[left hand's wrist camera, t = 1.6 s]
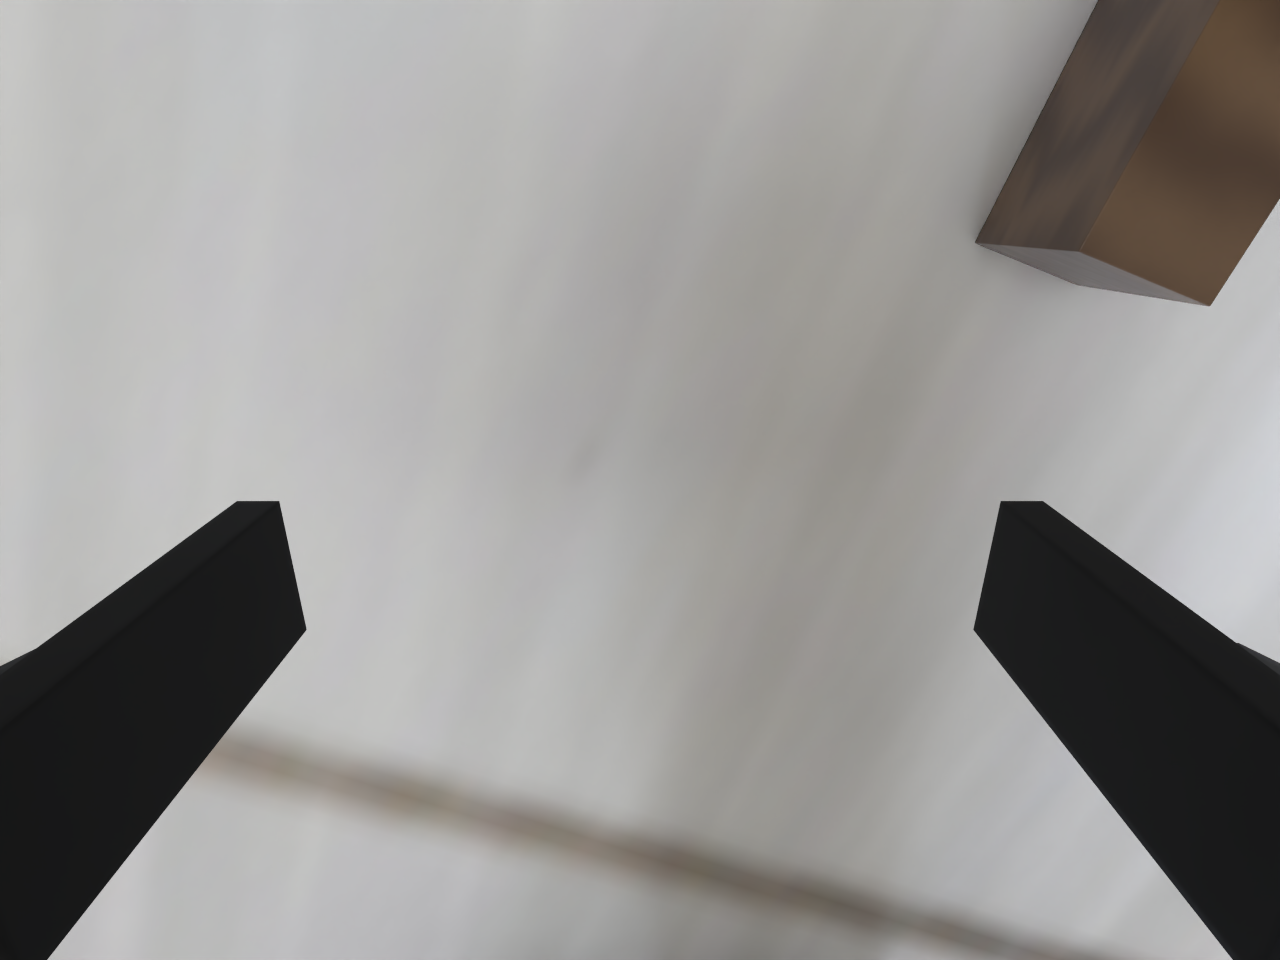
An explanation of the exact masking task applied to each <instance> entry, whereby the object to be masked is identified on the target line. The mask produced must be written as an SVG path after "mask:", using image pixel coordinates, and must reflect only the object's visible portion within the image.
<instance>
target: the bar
mask: <svg viewBox="0 0 1280 960" xmlns="http://www.w3.org/2000/svg"><path fill="white" fill-rule="evenodd" d="M1279 199H1280V0H1099V1H1098V3H1097V5H1096V7H1095V9H1094V11H1093V13H1092V15H1091V17H1090V19H1089V20H1088V22H1087V24H1086V26H1085V28H1084V30H1083V32H1082V34H1081V36H1080V38H1079V40H1078V42H1077V44H1076V46H1075V48H1074V50H1073V52H1072V54H1071V56H1070V58H1069V60H1068V62H1067V64H1066V66H1065V68H1064V70H1063V71H1062V73H1061V75H1060V77H1059V79H1058V81H1057V83H1056V85H1055V87H1054V89H1053V91H1052V93H1051V95H1050V97H1049V99H1048V101H1047V103H1046V105H1045V107H1044V109H1043V111H1042V113H1041V115H1040V117H1039V119H1038V121H1037V122H1036V124H1035V126H1034V128H1033V130H1032V132H1031V134H1030V136H1029V138H1028V140H1027V142H1026V144H1025V146H1024V148H1023V150H1022V152H1021V154H1020V156H1019V158H1018V160H1017V162H1016V164H1015V166H1014V168H1013V170H1012V171H1011V173H1010V175H1009V177H1008V179H1007V181H1006V183H1005V185H1004V187H1003V189H1002V191H1001V193H1000V195H999V197H998V199H997V201H996V203H995V205H994V207H993V209H992V211H991V213H990V215H989V217H988V219H987V221H986V222H985V224H984V226H983V228H982V230H981V232H980V234H979V236H978V238H977V240H976V242H975V243H976V244H979V245H981V246H984V247H986V248H989V249H991V250H993V251H996V252H998V253H1001V254H1003V255H1006V256H1008V257H1010V258H1013V259H1015V260H1018V261H1020V262H1023V263H1025V264H1028V265H1030V266H1032V267H1035V268H1037V269H1040V270H1042V271H1045V272H1047V273H1049V274H1052V275H1054V276H1057V277H1059V278H1062V279H1064V280H1067V281H1069V282H1071V283H1074V284H1076V285H1080V286H1086V287H1092V288H1098V289H1104V290H1111V291H1117V292H1123V293H1129V294H1135V295H1142V296H1148V297H1154V298H1160V299H1167V300H1173V301H1179V302H1185V303H1191V304H1198V305H1204V306H1210V305H1211V304H1212V303H1213V301H1214V299H1215V298H1216V296H1217V295H1218V293H1219V292H1220V290H1221V289H1222V287H1223V286H1224V284H1225V282H1226V281H1227V279H1228V278H1229V276H1230V275H1231V273H1232V272H1233V270H1234V269H1235V267H1236V265H1237V264H1238V262H1239V261H1240V259H1241V258H1242V256H1243V255H1244V253H1245V252H1246V250H1247V248H1248V247H1249V245H1250V244H1251V242H1252V241H1253V239H1254V238H1255V236H1256V235H1257V233H1258V231H1259V230H1260V228H1261V227H1262V225H1263V224H1264V222H1265V221H1266V219H1267V218H1268V216H1269V214H1270V213H1271V211H1272V210H1273V208H1274V207H1275V205H1276V204H1277V202H1278V201H1279Z"/></svg>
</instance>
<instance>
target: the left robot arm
mask: <svg viewBox="0 0 1280 960" xmlns="http://www.w3.org/2000/svg"><path fill="white" fill-rule="evenodd" d="M305 631H306V625H305V620H304V616H303V611H302V606H301V602H300V597H299V592H298V587H297V583H296V578H295V573H294V569H293V564H292V559H291V555H290V550H289V545H288V540H287V536H286V531H285V526H284V522H283V517H282V512H281V508H280V503H279V501H237V502H235V503H234V504H233V505H231V506H230V507H229V508H227V509H226V510H224V511H223V512H222V513H220V514H219V515H218V516H216V517H215V518H214V519H212V520H211V521H209V522H208V523H207V524H205V525H204V526H203V527H201V528H200V529H199V530H197V531H196V532H194V533H193V534H192V535H190V536H189V537H188V538H186V539H185V540H184V541H182V542H181V543H179V544H178V545H177V546H175V547H174V548H173V549H171V550H170V551H169V552H167V553H166V554H164V555H163V556H162V557H160V558H159V559H158V560H156V561H155V562H154V563H152V564H151V565H149V566H148V567H147V568H145V569H144V570H143V571H141V572H140V573H139V574H137V575H136V576H134V577H133V578H132V579H130V580H129V581H128V582H126V583H125V584H124V585H122V586H121V587H119V588H118V589H117V590H115V591H114V592H113V593H111V594H110V595H109V596H107V597H106V598H105V599H103V600H102V601H100V602H99V603H98V604H96V605H95V606H94V607H92V608H91V609H90V610H88V611H87V612H85V613H84V614H83V615H81V616H80V617H79V618H77V619H76V620H75V621H73V622H72V623H70V624H69V625H68V626H66V627H65V628H64V629H62V630H61V631H60V632H58V633H57V634H55V635H54V636H53V637H51V638H50V639H49V640H47V641H46V642H45V643H43V644H42V645H40V646H39V647H38V648H36V649H34V650H32V651H30V652H28V653H26V654H24V655H22V656H20V657H18V658H16V659H14V660H12V661H10V662H8V663H6V664H4V665H2V666H0V960H47V959H48V958H49V957H50V955H51V954H52V953H53V952H54V950H55V949H56V948H57V946H58V945H59V944H60V943H61V941H62V940H63V939H64V938H65V936H66V935H67V934H68V932H69V931H70V930H71V929H72V927H73V926H74V925H75V924H76V922H77V921H78V920H79V918H80V917H81V916H82V915H83V913H84V912H85V911H86V910H87V908H88V907H89V906H90V904H91V903H92V902H93V901H94V899H95V898H96V897H97V896H98V894H99V893H100V892H101V890H102V889H103V888H104V887H105V885H106V884H107V883H108V882H109V880H110V879H111V878H112V876H113V875H114V874H115V873H116V871H117V870H118V869H119V868H120V866H121V865H122V864H123V863H124V861H125V860H126V859H127V857H128V856H129V855H130V854H131V852H132V851H133V850H134V849H135V847H136V846H137V845H138V843H139V842H140V841H141V840H142V838H143V837H144V836H145V835H146V833H147V832H148V831H149V829H150V828H151V827H152V826H153V824H154V823H155V822H156V821H157V819H158V818H159V817H160V815H161V814H162V813H163V812H164V810H165V809H166V808H167V807H168V805H169V804H170V803H171V801H172V800H173V799H174V798H175V796H176V795H177V794H178V793H179V791H180V790H181V789H182V787H183V786H184V785H185V784H186V782H187V781H188V780H189V779H190V777H191V776H192V775H193V773H194V772H195V771H196V770H197V768H198V767H199V766H200V765H201V763H202V762H203V761H204V759H205V758H206V757H207V756H208V754H209V753H210V752H211V751H212V749H213V748H214V747H215V745H216V744H217V743H218V742H219V740H220V739H221V738H222V737H223V735H224V734H225V733H226V731H227V730H228V729H229V728H230V726H231V725H232V724H233V723H234V721H235V720H236V719H237V717H238V716H239V715H240V714H241V712H242V711H243V710H244V709H245V707H246V706H247V705H248V704H249V702H250V701H251V700H252V698H253V697H254V696H255V695H256V693H257V692H258V691H259V690H260V688H261V687H262V686H263V684H264V683H265V682H266V681H267V679H268V678H269V677H270V676H271V674H272V673H273V672H274V670H275V669H276V668H277V667H278V665H279V664H280V663H281V662H282V660H283V659H284V658H285V656H286V655H287V654H288V653H289V651H290V650H291V649H292V648H293V646H294V645H295V644H296V642H297V641H298V640H299V639H300V637H301V636H302V635H303V634H304V632H305ZM974 631H975V632H976V634H977V635H978V636H979V637H980V639H981V640H982V641H983V642H984V644H985V645H986V646H987V648H988V649H989V650H990V651H991V653H992V654H993V655H994V656H995V658H996V659H997V660H998V662H999V663H1000V664H1001V665H1002V667H1003V668H1004V669H1005V670H1006V672H1007V673H1008V674H1009V676H1010V677H1011V678H1012V679H1013V681H1014V682H1015V683H1016V684H1017V686H1018V687H1019V688H1020V690H1021V691H1022V692H1023V693H1024V695H1025V696H1026V697H1027V698H1028V700H1029V701H1030V702H1031V704H1032V705H1033V706H1034V707H1035V709H1036V710H1037V711H1038V712H1039V714H1040V715H1041V716H1042V717H1043V719H1044V720H1045V721H1046V723H1047V724H1048V725H1049V726H1050V728H1051V729H1052V730H1053V731H1054V733H1055V734H1056V735H1057V737H1058V738H1059V739H1060V740H1061V742H1062V743H1063V744H1064V745H1065V747H1066V748H1067V749H1068V751H1069V752H1070V753H1071V754H1072V756H1073V757H1074V758H1075V759H1076V761H1077V762H1078V763H1079V765H1080V766H1081V767H1082V768H1083V770H1084V771H1085V772H1086V773H1087V775H1088V776H1089V777H1090V779H1091V780H1092V781H1093V782H1094V784H1095V785H1096V786H1097V787H1098V789H1099V790H1100V791H1101V793H1102V794H1103V795H1104V796H1105V798H1106V799H1107V800H1108V801H1109V803H1110V804H1111V805H1112V807H1113V808H1114V809H1115V810H1116V812H1117V813H1118V814H1119V815H1120V817H1121V818H1122V819H1123V821H1124V822H1125V823H1126V824H1127V826H1128V827H1129V828H1130V829H1131V831H1132V832H1133V833H1134V835H1135V836H1136V837H1137V838H1138V840H1139V841H1140V842H1141V843H1142V845H1143V846H1144V847H1145V849H1146V850H1147V851H1148V852H1149V854H1150V855H1151V856H1152V857H1153V859H1154V860H1155V861H1156V863H1157V864H1158V865H1159V866H1160V868H1161V869H1162V870H1163V871H1164V873H1165V874H1166V875H1167V876H1168V878H1169V879H1170V880H1171V882H1172V883H1173V884H1174V885H1175V887H1176V888H1177V889H1178V890H1179V892H1180V893H1181V894H1182V896H1183V897H1184V898H1185V899H1186V901H1187V902H1188V903H1189V904H1190V906H1191V907H1192V908H1193V910H1194V911H1195V912H1196V913H1197V915H1198V916H1199V917H1200V918H1201V920H1202V921H1203V922H1204V924H1205V925H1206V926H1207V927H1208V929H1209V930H1210V931H1211V932H1212V934H1213V935H1214V936H1215V938H1216V939H1217V940H1218V941H1219V943H1220V944H1221V945H1222V946H1223V948H1224V949H1225V950H1226V952H1227V953H1228V954H1229V955H1230V957H1231V958H1232V959H1233V960H1280V663H1278V662H1276V661H1274V660H1272V659H1270V658H1268V657H1266V656H1264V655H1262V654H1260V653H1258V652H1256V651H1254V650H1252V649H1250V648H1248V647H1246V646H1244V645H1241V644H1239V643H1235V642H1234V641H1233V640H1231V639H1230V638H1229V637H1227V636H1226V635H1225V634H1223V633H1222V632H1220V631H1219V630H1218V629H1216V628H1215V627H1214V626H1212V625H1211V624H1210V623H1208V622H1207V621H1205V620H1204V619H1203V618H1201V617H1200V616H1199V615H1197V614H1196V613H1195V612H1193V611H1192V610H1190V609H1189V608H1188V607H1186V606H1185V605H1184V604H1182V603H1181V602H1180V601H1178V600H1177V599H1175V598H1174V597H1173V596H1171V595H1170V594H1169V593H1167V592H1166V591H1165V590H1163V589H1162V588H1161V587H1159V586H1158V585H1156V584H1155V583H1154V582H1152V581H1151V580H1150V579H1148V578H1147V577H1146V576H1144V575H1143V574H1141V573H1140V572H1139V571H1137V570H1136V569H1135V568H1133V567H1132V566H1131V565H1129V564H1128V563H1126V562H1125V561H1124V560H1122V559H1121V558H1120V557H1118V556H1117V555H1116V554H1114V553H1113V552H1111V551H1110V550H1109V549H1107V548H1106V547H1105V546H1103V545H1102V544H1101V543H1099V542H1098V541H1096V540H1095V539H1094V538H1092V537H1091V536H1090V535H1088V534H1087V533H1086V532H1084V531H1083V530H1081V529H1080V528H1079V527H1077V526H1076V525H1075V524H1073V523H1072V522H1071V521H1069V520H1068V519H1066V518H1065V517H1064V516H1062V515H1061V514H1060V513H1058V512H1057V511H1056V510H1054V509H1053V508H1051V507H1050V506H1049V505H1047V504H1046V503H1045V502H1043V501H1001V503H1000V508H999V512H998V517H997V522H996V526H995V531H994V536H993V540H992V545H991V550H990V555H989V559H988V564H987V569H986V573H985V578H984V583H983V587H982V592H981V597H980V602H979V606H978V611H977V616H976V620H975V625H974Z"/></svg>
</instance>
